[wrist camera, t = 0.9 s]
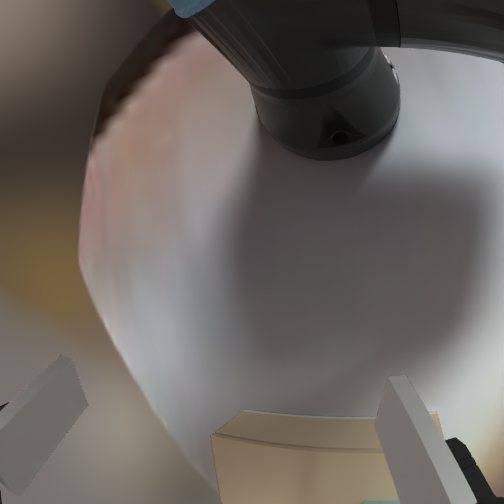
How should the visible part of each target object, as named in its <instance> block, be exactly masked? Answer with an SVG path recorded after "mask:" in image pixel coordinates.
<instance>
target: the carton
mask: <svg viewBox="0 0 504 504" xmlns="http://www.w3.org/2000/svg"><path fill="white" fill-rule="evenodd" d="M429 414H430V416H431V417H432V419H433V421H434V423H435V424H436V426H437V428H438V429H439V431H440V433H441V435H442V436H443V432H442V428H441V424H440V420H439V416H438V413H437V412H429ZM375 419H376V416H367V417H335V416H309V415H293V414H281V413H271V412H261V411H253V410H243V411H242V412H241V413H240V414H238V415H237V416H236V417H234V418H233V419H232V420H230V421H229V422H228V423H227V424H225V425H224V426H223V427H221V428H220V429H219V430H217V431H216V432H215V434H219V435H223V436H228V437H233V438H239V439H244V440H250V441H256V442H262V443H269V444H277V445H285V446H294V447H304V448H317V449H334V450H382V447H381V445H380V442H379V439H378V436H377V433H376V431H375V428H374V422H375ZM443 438H444V436H443Z"/></svg>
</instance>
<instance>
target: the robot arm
mask: <svg viewBox="0 0 504 504" xmlns="http://www.w3.org/2000/svg"><path fill="white" fill-rule="evenodd" d="M168 2H169V3H170V4H171V5H172V6H173V7H174V9H175V12H176V14H177V15H179V16H180V17H181V18H184V19H185V20H186V21H188V22H189V23H190V24H191V25H192V26H193V27H194V28H195V29H196V30H197V31H198V32H199V33H201V34H202V35H203V36H204V37H205V38H206V39H207V40H208V41H209V42H210V43H211V44H212V45H213V46H214V47H215V48H216V49H217V50H218V51H219V52H220V53H221V54H222V55H223V56H224V57H225V58H226V59H227V60H228V61H229V62H230V63H231V64H232V65H233V66H234V67H235V68H236V69H237V70H238V71H239V72H240V73H241V75H242V76H243V77H244V78H245V79H246V80H247V81H248V82H249V84H250V88H251V92H252V95H253V98H254V102H255V108H256V112H257V114H258V117H259V119H260V121H261V123H262V124H263V126H264V127H265V129H266V130H267V131H268V132H269V133H270V134H271V135H272V136H273V137H274V139H275V140H276V141H277V142H278V143H280V144H281V145H282V146H283V147H285V148H286V149H288V150H289V151H291V152H293V153H295V154H298V155H300V156H303V157H307V158H311V159H317V160H337V159H344V158H348V157H352V156H355V155H358V154H360V153H363V152H365V151H367V150H368V149H370V148H372V147H373V146H375V145H376V144H377V143H379V142H380V141H381V140H382V139H383V138H384V137H385V136H386V135H387V134H388V133H389V131H390V130H391V129H392V127H393V125H394V124H395V122H396V119H397V117H398V114H399V109H400V85H399V80H398V76H397V73H396V71H395V69H394V67H393V65H392V63H391V62H390V60H389V59H388V58H387V56H386V55H385V54H384V53H383V52H382V51H381V48H380V47H399V48H417V49H430V50H439V51H447V52H454V53H460V54H466V55H472V56H477V57H482V58H487V59H491V60H496V61H499V62H502V63H504V0H168ZM87 406H88V402H87V400H86V397H85V394H84V392H83V389H82V386H81V383H80V380H79V377H78V374H77V371H76V368H75V365H74V361H73V358H69V357H65V356H59V357H58V358H57V359H56V360H55V361H54V362H52V364H50V365H49V366H48V367H47V368H46V369H45V370H44V371H43V372H42V373H40V374H39V375H38V376H37V377H36V378H35V379H34V380H33V381H32V382H30V383H29V384H28V385H27V386H26V387H25V388H24V389H23V390H22V391H21V392H20V393H19V394H18V395H17V396H16V397H14V398H13V400H12V401H10V402H8V403H6V404H4V405H2V406H0V482H1V483H2V484H3V485H4V486H5V488H6V489H7V490H9V491H10V492H12V493H13V494H15V495H16V496H18V497H19V498H20V497H21V496H22V495H23V493H24V492H25V490H26V489H27V487H28V486H29V485H30V483H31V482H32V480H33V479H34V478H35V476H36V475H37V473H38V472H39V471H40V469H41V468H42V467H43V465H44V463H45V462H46V461H47V460H48V458H49V457H50V455H51V454H52V453H53V451H54V450H55V449H56V447H57V446H58V445H59V443H60V442H61V441H62V439H63V438H64V437H65V435H66V434H67V433H68V431H69V430H70V429H71V427H72V426H73V425H74V423H75V422H76V421H77V420H78V418H79V417H80V416H81V414H82V413H83V412H84V410H85V409H86V408H87ZM374 428H375V431H376V433H377V436H378V439H379V442H380V445H381V447H382V450H383V453H384V456H385V459H386V462H387V464H388V467H389V470H390V473H391V476H392V479H393V482H394V485H395V488H396V491H397V495H398V498H399V501H400V504H504V498H503V497H496V496H495V495H494V493H493V492H492V490H491V488H490V486H489V485H488V483H487V481H486V479H485V477H484V476H483V474H482V472H481V470H480V469H479V467H478V465H477V466H476V462H475V460H474V458H473V457H471V456H472V455H471V453H470V452H469V450H468V448H467V447H466V445H465V444H463V443H462V442H461V441H459V440H458V439H457V438H456V437H455V438H452V439H448V440H444V438H443V436H442V435H441V433H440V431H439V429H438V428H437V426H436V424H435V423H434V421H433V419H432V417H431V416H430V414H429V412H428V411H427V409H426V407H425V406H424V404H423V402H422V401H421V399H420V397H419V396H418V394H417V393H416V391H415V389H414V388H413V386H412V385H411V383H410V381H409V380H408V378H407V377H406V375H405V374H404V375H396V376H388V379H387V383H386V386H385V390H384V393H383V397H382V400H381V403H380V407H379V410H378V413H377V416H376V419H375V422H374ZM0 504H2V501H1V491H0Z"/></svg>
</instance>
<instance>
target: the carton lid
mask: <svg viewBox="0 0 504 504" xmlns="http://www.w3.org/2000/svg"><path fill="white" fill-rule="evenodd" d="M210 436H211V443H212V450H213V456H214V463H215V469H216V475H217V481H218V487H219V493H220V498H221V504H400V501H399V498H398V495H397V491H396V488H395V485H394V482H393V479H392V476H391V473H390V470H389V467H388V464H387V462H386V459H385V456H384V453H383V450H334V449H317V448H304V447H294V446H285V445H277V444H269V443H262V442H256V441H250V440H244V439H239V438H233V437H228V436H223V435H219V434H214V433H213V434H212V435H210Z"/></svg>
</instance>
